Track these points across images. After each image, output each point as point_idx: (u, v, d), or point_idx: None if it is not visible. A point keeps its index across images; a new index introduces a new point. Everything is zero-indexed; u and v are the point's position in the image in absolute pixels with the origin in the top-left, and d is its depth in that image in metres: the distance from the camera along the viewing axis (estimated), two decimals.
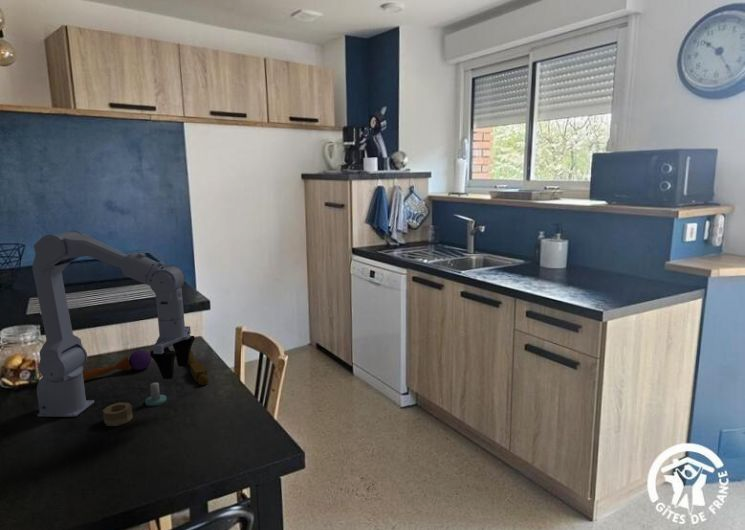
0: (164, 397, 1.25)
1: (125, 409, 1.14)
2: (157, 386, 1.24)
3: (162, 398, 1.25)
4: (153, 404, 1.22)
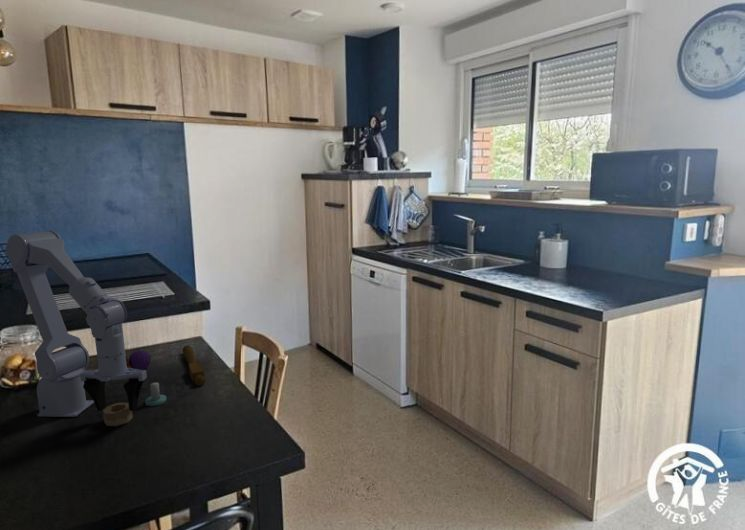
0: (164, 397, 1.25)
1: (125, 409, 1.14)
2: (157, 386, 1.24)
3: (162, 398, 1.25)
4: (153, 404, 1.22)
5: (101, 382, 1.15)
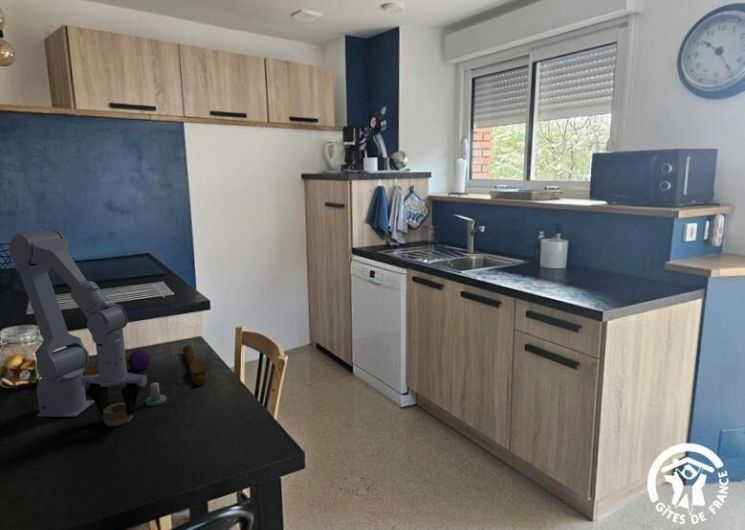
0: (164, 397, 1.25)
1: (125, 409, 1.14)
2: (157, 386, 1.24)
3: (162, 398, 1.25)
4: (153, 404, 1.22)
5: (104, 386, 1.15)
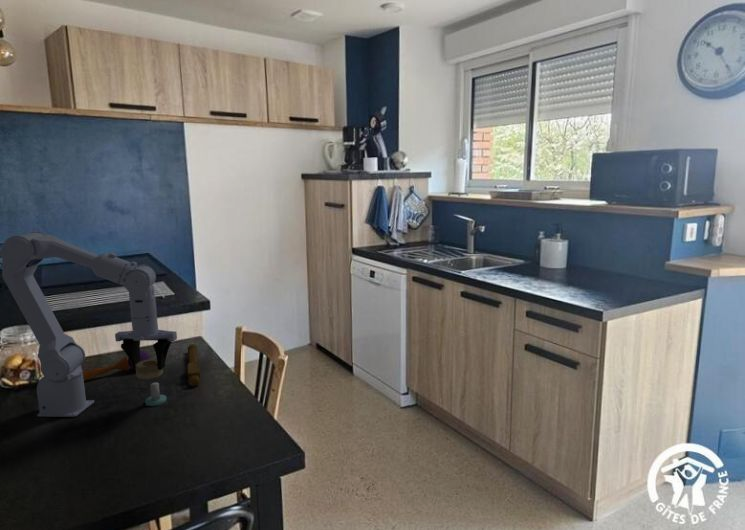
0: (164, 397, 1.25)
1: (156, 364, 1.21)
2: (157, 386, 1.24)
3: (162, 398, 1.25)
4: (153, 404, 1.22)
5: (137, 342, 1.22)
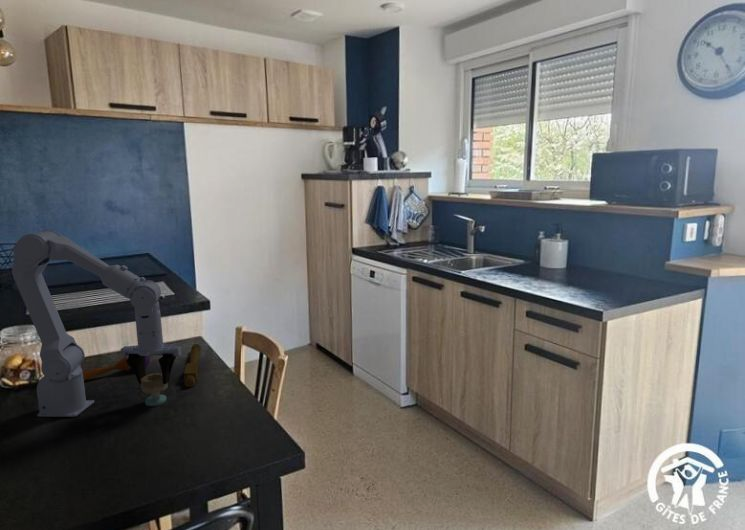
0: (164, 397, 1.25)
1: (161, 378, 1.23)
2: None
3: (162, 398, 1.25)
4: (153, 404, 1.22)
5: (142, 357, 1.24)
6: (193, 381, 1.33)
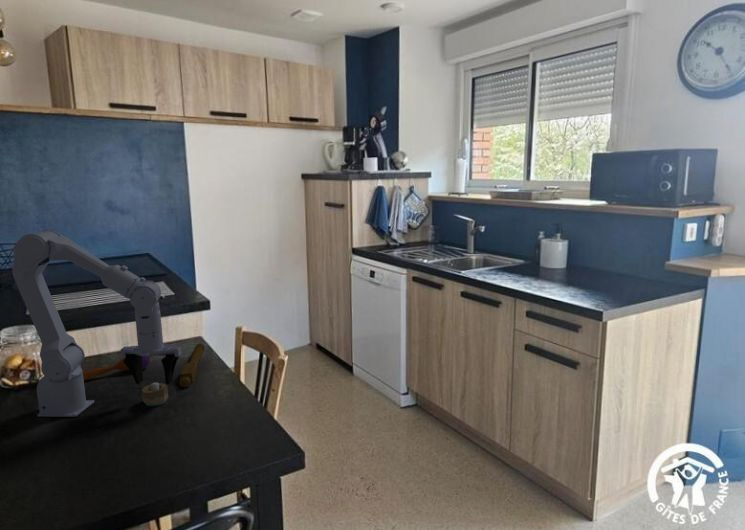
0: None
1: (162, 389, 1.23)
2: (157, 386, 1.24)
3: None
4: (153, 404, 1.22)
5: (139, 357, 1.24)
6: (188, 382, 1.33)
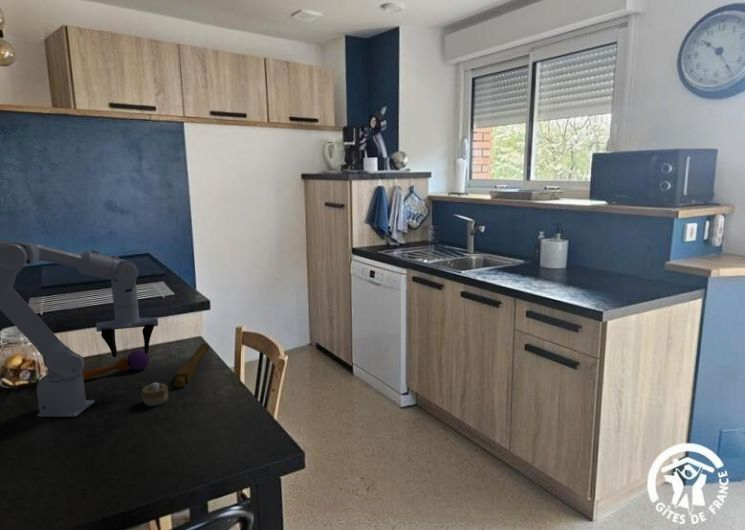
0: None
1: (162, 389, 1.23)
2: (157, 386, 1.24)
3: None
4: (153, 404, 1.22)
5: (113, 332, 1.29)
6: (182, 382, 1.33)
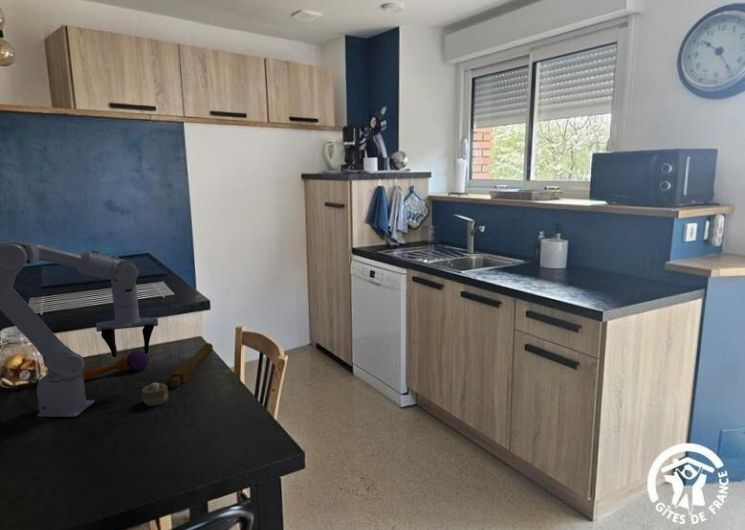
0: None
1: (162, 389, 1.23)
2: (157, 386, 1.24)
3: None
4: (153, 404, 1.22)
5: (113, 332, 1.29)
6: (177, 382, 1.33)
